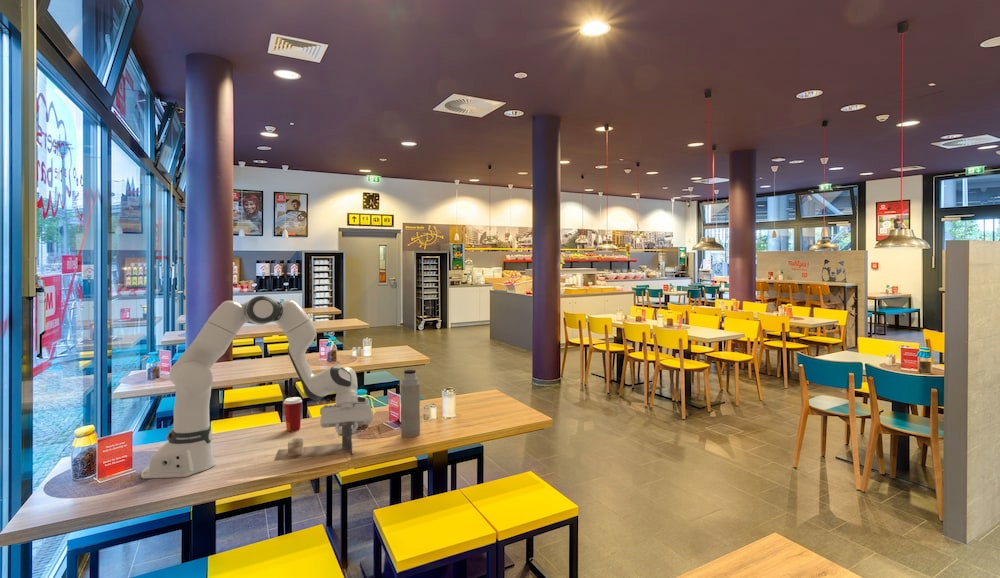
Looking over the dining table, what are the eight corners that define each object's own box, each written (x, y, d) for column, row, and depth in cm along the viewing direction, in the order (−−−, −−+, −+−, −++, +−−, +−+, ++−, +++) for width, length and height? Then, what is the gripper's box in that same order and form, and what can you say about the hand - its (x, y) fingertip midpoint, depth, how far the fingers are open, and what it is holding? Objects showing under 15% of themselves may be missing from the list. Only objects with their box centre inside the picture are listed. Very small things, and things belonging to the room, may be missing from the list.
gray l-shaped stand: (273, 462, 186) (273, 434, 185) (278, 451, 197) (278, 424, 197) (352, 454, 194) (351, 427, 193) (352, 444, 205) (352, 418, 205)
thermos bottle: (417, 430, 223) (417, 368, 222) (421, 435, 215) (421, 371, 214) (399, 432, 220) (399, 369, 219) (403, 438, 212) (402, 372, 211)
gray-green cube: (288, 455, 190) (287, 443, 190) (289, 451, 195) (289, 438, 195) (302, 454, 192) (301, 441, 191) (303, 450, 196) (303, 437, 196)
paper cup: (305, 427, 228) (305, 396, 228) (297, 432, 221) (296, 401, 220) (289, 426, 229) (288, 396, 228) (280, 432, 221) (279, 400, 221)
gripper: (319, 401, 202) (318, 433, 193) (371, 398, 208) (373, 428, 198) (320, 409, 206) (319, 440, 197) (371, 405, 212) (372, 435, 203)
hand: (346, 434), depth 198 cm, fingers closed on gray l-shaped stand, 3 cm apart
